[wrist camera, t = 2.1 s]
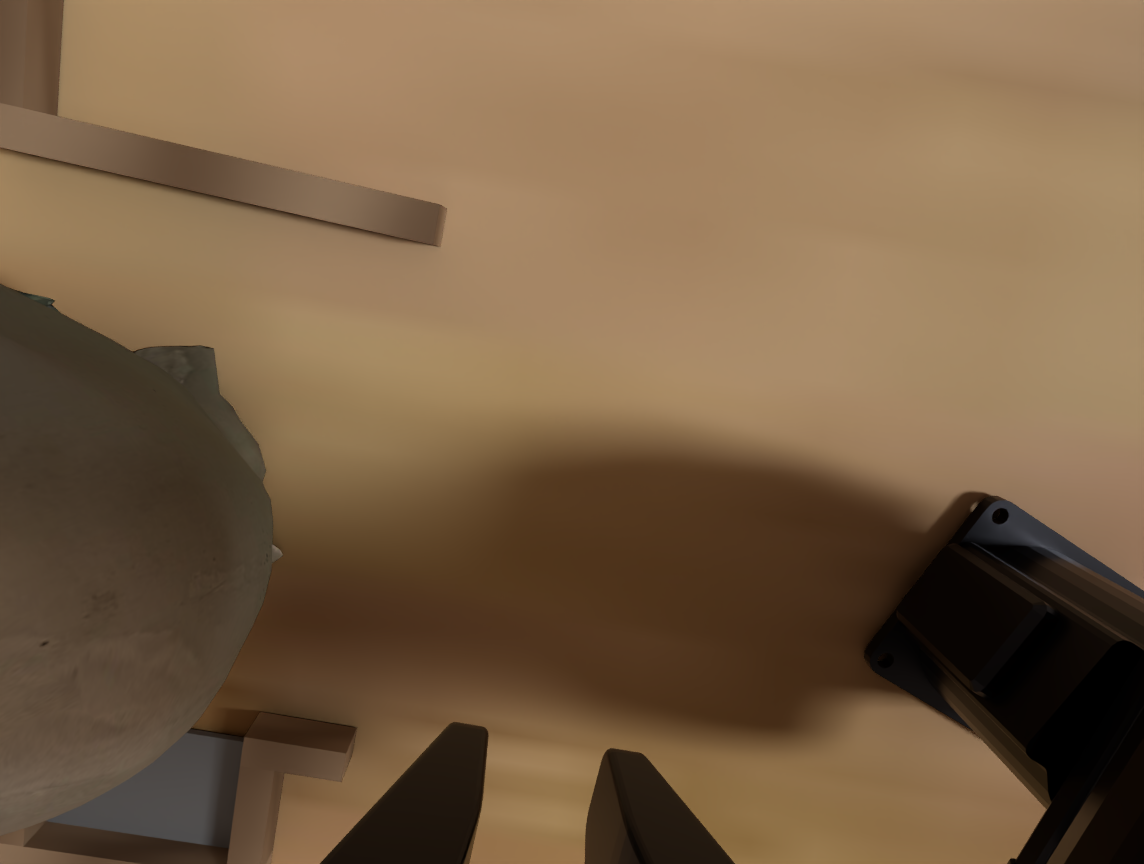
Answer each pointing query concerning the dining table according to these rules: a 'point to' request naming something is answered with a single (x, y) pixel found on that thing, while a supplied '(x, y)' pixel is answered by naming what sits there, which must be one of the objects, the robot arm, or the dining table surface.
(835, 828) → the dining table surface
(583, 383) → the dining table surface
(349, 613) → the dining table surface
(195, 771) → the mats
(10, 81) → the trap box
